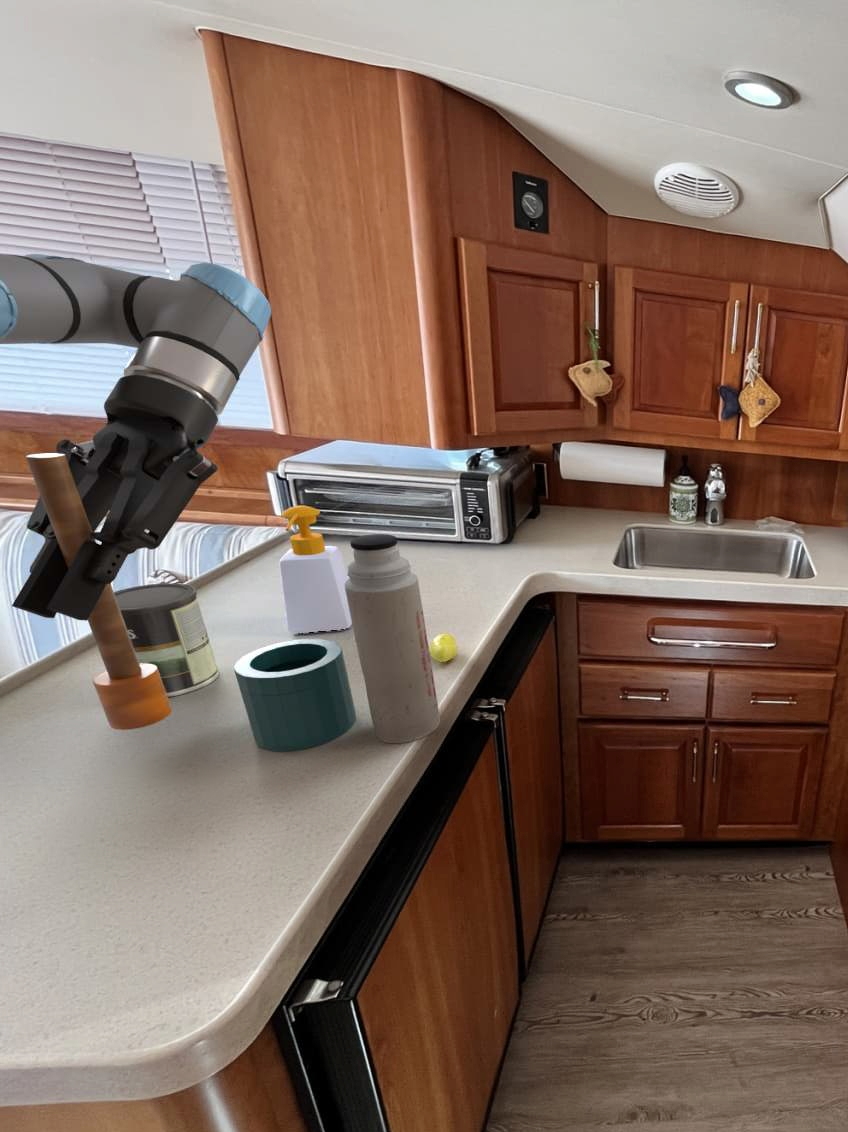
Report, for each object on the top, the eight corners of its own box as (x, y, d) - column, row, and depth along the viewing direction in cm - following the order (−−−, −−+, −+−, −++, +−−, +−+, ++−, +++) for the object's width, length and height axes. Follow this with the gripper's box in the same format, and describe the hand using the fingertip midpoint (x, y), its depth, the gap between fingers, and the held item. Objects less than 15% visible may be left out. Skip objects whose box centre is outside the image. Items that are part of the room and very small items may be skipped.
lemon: (460, 646, 113) (458, 626, 111) (456, 667, 106) (453, 646, 105) (433, 648, 111) (430, 628, 110) (428, 670, 104) (424, 649, 103)
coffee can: (153, 706, 89) (120, 615, 84) (110, 688, 93) (77, 599, 87) (236, 675, 98) (212, 591, 93) (195, 659, 102) (169, 578, 96)
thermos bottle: (445, 709, 94) (417, 528, 84) (433, 740, 87) (401, 547, 77) (384, 714, 92) (348, 529, 82) (366, 746, 85) (324, 548, 75)
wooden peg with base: (102, 734, 60) (-7, 460, 51) (119, 711, 64) (19, 451, 54) (164, 724, 62) (71, 459, 53) (177, 702, 66) (92, 450, 56)
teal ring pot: (247, 760, 81) (225, 684, 77) (262, 715, 89) (243, 646, 85) (353, 739, 86) (338, 668, 82) (358, 699, 95) (344, 633, 91)
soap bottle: (279, 648, 107) (246, 521, 99) (300, 616, 119) (272, 500, 110) (347, 642, 111) (321, 519, 103) (360, 611, 123) (338, 499, 114)
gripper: (275, 427, 67) (177, 634, 58) (129, 415, 67) (7, 622, 58) (219, 377, 60) (97, 603, 51) (56, 364, 60) (-95, 589, 51)
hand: (50, 613), depth 55 cm, fingers closed on wooden peg with base, 2 cm apart
